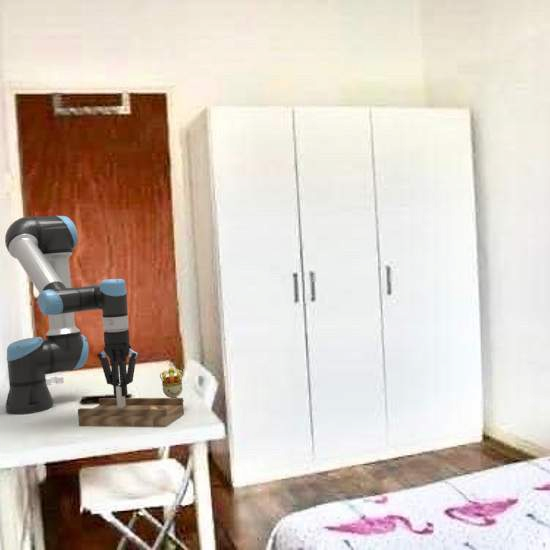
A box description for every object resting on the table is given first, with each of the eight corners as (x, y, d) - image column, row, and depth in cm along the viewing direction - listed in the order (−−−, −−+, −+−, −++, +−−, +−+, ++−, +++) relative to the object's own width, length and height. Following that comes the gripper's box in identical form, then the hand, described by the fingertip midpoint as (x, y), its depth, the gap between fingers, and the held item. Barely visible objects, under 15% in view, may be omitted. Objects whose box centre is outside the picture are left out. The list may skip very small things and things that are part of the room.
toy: (166, 414, 214) (163, 366, 213) (159, 409, 221) (156, 363, 220) (188, 410, 217) (185, 363, 217) (180, 405, 224) (177, 360, 223)
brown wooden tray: (78, 425, 206) (77, 409, 206) (101, 413, 220) (100, 398, 220) (165, 426, 200) (164, 409, 199) (183, 413, 213) (182, 397, 213)
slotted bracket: (64, 383, 274) (62, 364, 274) (45, 386, 271) (44, 366, 271) (59, 378, 286) (58, 359, 286) (42, 380, 283) (40, 361, 283)
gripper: (90, 332, 207) (96, 409, 209) (130, 331, 204) (136, 410, 206) (102, 328, 214) (107, 403, 216) (141, 327, 211) (146, 403, 213)
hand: (121, 406), depth 211 cm, fingers closed
